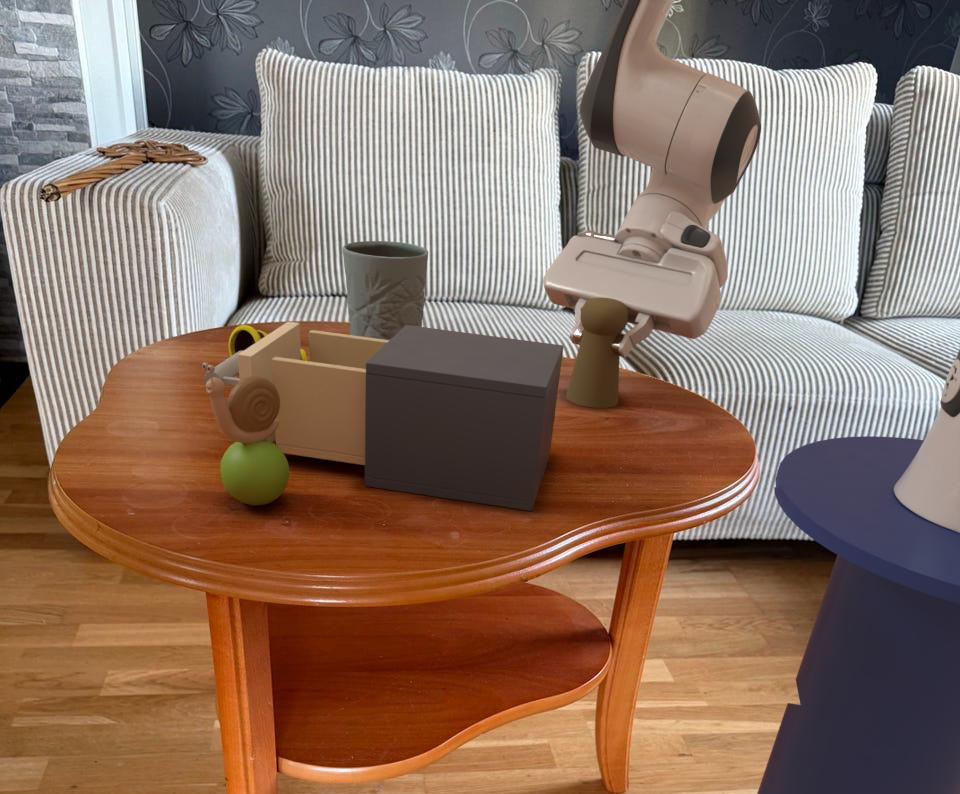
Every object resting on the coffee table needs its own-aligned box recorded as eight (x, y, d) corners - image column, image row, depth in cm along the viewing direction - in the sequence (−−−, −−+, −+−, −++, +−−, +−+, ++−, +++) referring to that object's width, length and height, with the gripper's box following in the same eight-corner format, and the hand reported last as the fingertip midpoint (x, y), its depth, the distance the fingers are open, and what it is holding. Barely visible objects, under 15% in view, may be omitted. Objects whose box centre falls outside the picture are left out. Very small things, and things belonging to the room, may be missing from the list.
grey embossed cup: (422, 365, 109) (426, 259, 102) (338, 358, 108) (337, 252, 102) (425, 342, 118) (429, 243, 111) (347, 336, 117) (347, 236, 110)
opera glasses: (308, 392, 100) (315, 346, 98) (265, 389, 97) (271, 342, 94) (266, 367, 106) (272, 324, 104) (225, 364, 103) (230, 319, 101)
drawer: (197, 448, 80) (187, 347, 75) (249, 407, 90) (243, 315, 85) (393, 477, 78) (395, 376, 73) (424, 432, 88) (428, 339, 83)
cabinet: (364, 486, 78) (365, 362, 73) (401, 436, 89) (405, 324, 83) (531, 511, 77) (546, 387, 71) (549, 457, 87) (563, 345, 82)
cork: (601, 411, 100) (617, 309, 94) (555, 397, 103) (568, 297, 97) (627, 400, 104) (644, 301, 98) (583, 386, 107) (597, 290, 101)
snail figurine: (199, 502, 73) (183, 354, 67) (264, 483, 77) (256, 341, 71) (238, 526, 70) (226, 374, 64) (304, 504, 74) (299, 359, 68)
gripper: (569, 209, 103) (511, 309, 102) (734, 240, 93) (672, 352, 92) (584, 247, 109) (529, 342, 107) (741, 280, 99) (683, 386, 98)
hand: (597, 347), depth 100 cm, fingers closed on cork, 4 cm apart
